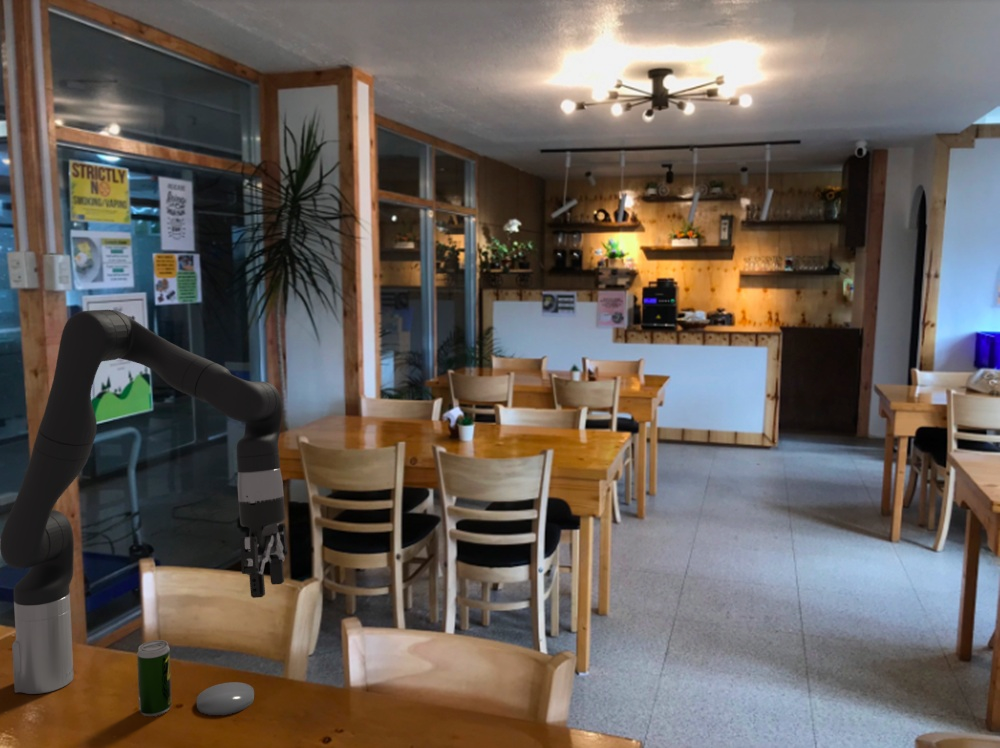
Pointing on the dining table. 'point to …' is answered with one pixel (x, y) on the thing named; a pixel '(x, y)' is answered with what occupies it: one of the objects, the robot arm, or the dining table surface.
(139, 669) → the beer can
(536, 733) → the dining table surface
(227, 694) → the smooth grey oval object
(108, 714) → the dining table surface
